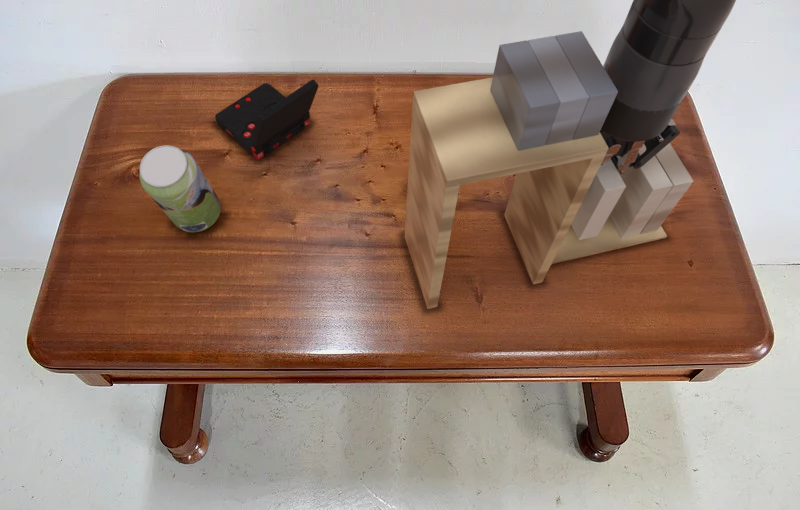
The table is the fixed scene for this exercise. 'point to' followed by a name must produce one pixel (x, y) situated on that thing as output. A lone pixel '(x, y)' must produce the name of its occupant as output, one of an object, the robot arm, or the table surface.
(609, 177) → the white book
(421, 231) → the wooden stand
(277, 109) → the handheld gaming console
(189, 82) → the table surface
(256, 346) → the table surface
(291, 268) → the table surface
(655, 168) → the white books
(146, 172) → the beverage can
